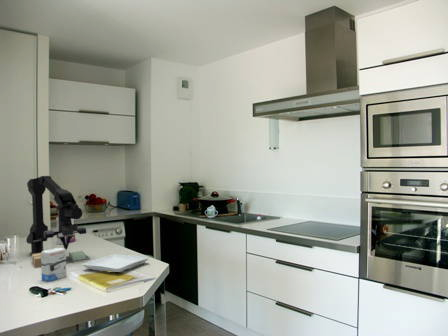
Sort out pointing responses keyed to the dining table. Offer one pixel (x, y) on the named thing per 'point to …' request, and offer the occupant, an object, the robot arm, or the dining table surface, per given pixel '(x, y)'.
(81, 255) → the sage green tile
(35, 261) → the deck
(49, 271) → the ink box
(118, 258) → the salad plate
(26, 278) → the dining table surface
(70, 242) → the candy bar box
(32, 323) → the dining table surface
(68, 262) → the mat
